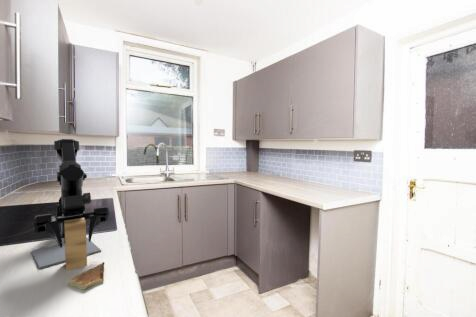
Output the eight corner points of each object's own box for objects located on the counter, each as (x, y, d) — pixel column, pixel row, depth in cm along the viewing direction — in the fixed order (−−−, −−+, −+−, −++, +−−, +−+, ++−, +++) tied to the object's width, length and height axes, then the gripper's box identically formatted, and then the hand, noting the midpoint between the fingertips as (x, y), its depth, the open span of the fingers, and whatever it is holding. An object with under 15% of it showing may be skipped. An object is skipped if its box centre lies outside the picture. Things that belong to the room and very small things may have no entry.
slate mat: (31, 251, 80) (31, 250, 80) (86, 238, 91) (86, 237, 91) (39, 269, 69) (39, 267, 69) (101, 251, 80) (101, 250, 80)
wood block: (65, 263, 72) (64, 220, 72) (85, 258, 75) (84, 217, 75) (66, 270, 68) (64, 225, 68) (87, 265, 71) (85, 221, 71)
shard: (104, 266, 72) (103, 260, 71) (123, 271, 69) (123, 265, 69) (66, 286, 61) (66, 279, 61) (88, 293, 59) (88, 286, 59)
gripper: (33, 187, 68) (31, 238, 60) (107, 182, 79) (114, 223, 71) (35, 209, 75) (35, 257, 67) (103, 201, 86) (110, 241, 78)
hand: (75, 244), depth 70 cm, fingers open, 7 cm apart
